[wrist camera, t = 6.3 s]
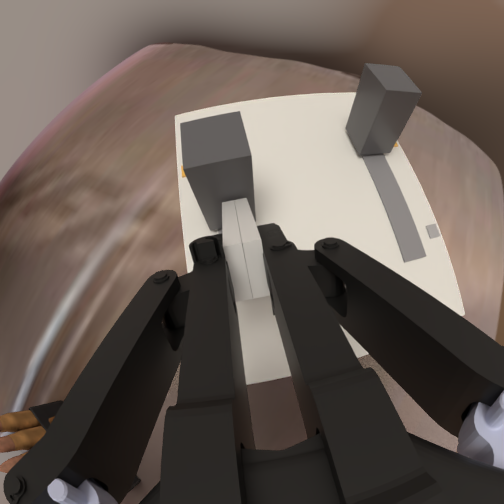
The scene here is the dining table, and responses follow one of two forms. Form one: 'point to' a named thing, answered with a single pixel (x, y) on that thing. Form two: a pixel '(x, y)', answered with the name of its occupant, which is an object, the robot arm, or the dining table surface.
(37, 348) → the dining table surface
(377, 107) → the block
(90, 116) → the dining table surface
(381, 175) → the switch panel
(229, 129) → the block
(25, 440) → the ammunition clip
